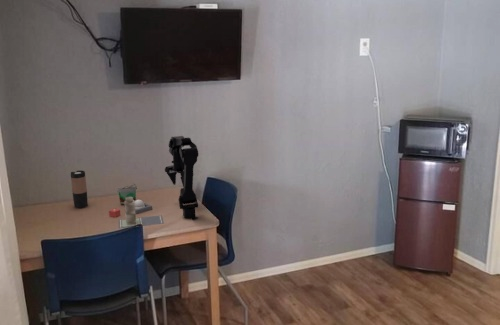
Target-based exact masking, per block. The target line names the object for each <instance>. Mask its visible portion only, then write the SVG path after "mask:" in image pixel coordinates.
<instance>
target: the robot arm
mask: <svg viewBox="0 0 500 325" xmlns="http://www.w3.org/2000/svg"><path fill="white" fill-rule="evenodd" d="M185 146H186V148H184V147H185ZM187 146H189V148H187ZM168 148H169V150H168V153H169V154H170V155H171V156H172V160H171V163H172V164H173V165H169V166H165V168H164V172H165V173H166V174H167V175H168V177H169V179H170V181H171V182H172V185H173V186H174V185H176V183H177V174H180V180H181V184H182V188H180V190H179V193H180V194H179V196H178V204H179V209H180V210H182V216H183V218H184V219H187V220H193V221H194V220H197V219H198V216H196V208H199V203H198V199H197V194H196V193H195V191H194V189H193V186H194V168H195V167H194V166H195V164H197V161H198V158H199V150H198V146H197V144H195V143H194V142H193V141H192V138H191V137H184V136H183V135H180V136H179V135H177V136H171V138H170V139H169V141H168Z"/></svg>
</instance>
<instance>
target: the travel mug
mask: <svg viewBox="0 0 500 325" xmlns="http://www.w3.org/2000/svg"><path fill="white" fill-rule="evenodd" d="M70 180H71V182H70V183H71V190H72V191H71V192H72V198H73V200H72V201H73V206H74V208H75V209H84V208H87V207H88V204H89V203H88V201H89V200H88V189H87V180H86V171H85V170H76V171H71V172H70Z"/></svg>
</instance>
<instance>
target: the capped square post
mask: <svg viewBox="0 0 500 325" xmlns="http://www.w3.org/2000/svg"><path fill="white" fill-rule="evenodd" d="M125 199H126V201H124V203H125V205H124V214H125V219H126V223H127V224H134V223H136V218H137V216H136V215H137V214H135V202H134V200H133V197H126V198H125Z"/></svg>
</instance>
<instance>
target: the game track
mask: <svg viewBox="0 0 500 325" xmlns="http://www.w3.org/2000/svg"><path fill="white" fill-rule="evenodd" d="M137 224H142V225H143V226H142V227H145V226H153V225H162V224H165V222H164V219H163V216H162V215H152V216H151V215H150V216H144V217H142V216H141V217H136V223H134V224H127V223H126V218H123V219H118V229H127V228H131V227H130V226H134V225H137Z"/></svg>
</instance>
